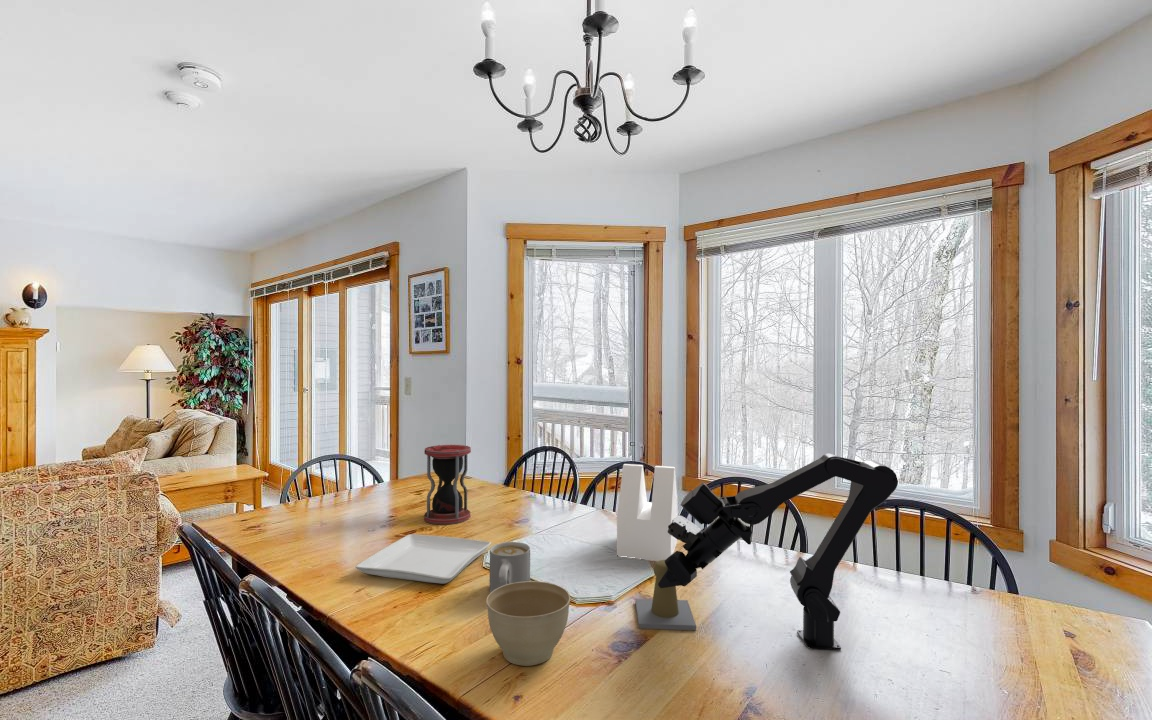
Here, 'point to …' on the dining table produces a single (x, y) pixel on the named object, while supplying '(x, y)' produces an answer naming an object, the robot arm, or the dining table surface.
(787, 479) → the robot arm
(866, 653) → the dining table surface
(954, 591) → the dining table surface
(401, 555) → the square plate
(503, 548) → the coffee mug
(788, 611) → the dining table surface
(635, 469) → the white slotted block
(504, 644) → the planter bowl
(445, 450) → the hourglass
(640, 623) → the charcoal mat
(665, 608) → the cork
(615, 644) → the dining table surface
